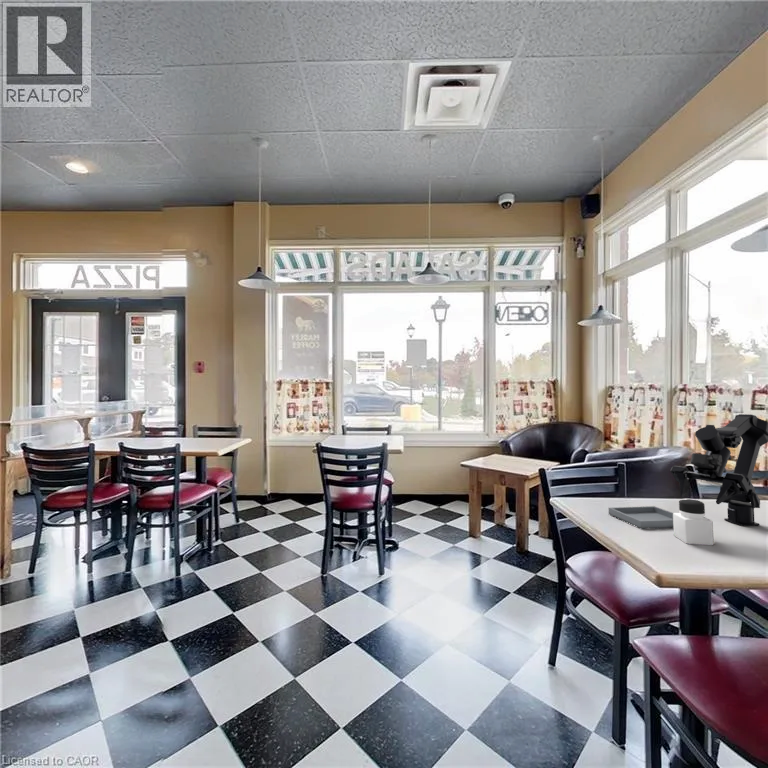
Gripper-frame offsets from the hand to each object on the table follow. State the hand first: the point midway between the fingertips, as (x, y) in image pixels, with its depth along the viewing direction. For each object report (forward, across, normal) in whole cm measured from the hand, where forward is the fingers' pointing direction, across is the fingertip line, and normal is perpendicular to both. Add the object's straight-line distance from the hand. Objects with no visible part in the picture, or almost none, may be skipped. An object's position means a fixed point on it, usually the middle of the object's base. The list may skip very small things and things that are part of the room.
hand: (698, 499), depth 118 cm
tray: (+5, -17, +11) cm, 21 cm away
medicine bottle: (+11, 0, +5) cm, 13 cm away
